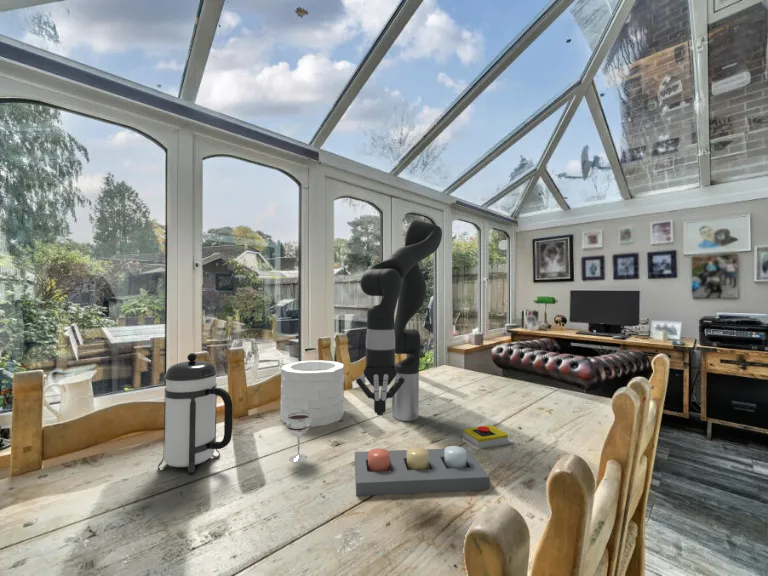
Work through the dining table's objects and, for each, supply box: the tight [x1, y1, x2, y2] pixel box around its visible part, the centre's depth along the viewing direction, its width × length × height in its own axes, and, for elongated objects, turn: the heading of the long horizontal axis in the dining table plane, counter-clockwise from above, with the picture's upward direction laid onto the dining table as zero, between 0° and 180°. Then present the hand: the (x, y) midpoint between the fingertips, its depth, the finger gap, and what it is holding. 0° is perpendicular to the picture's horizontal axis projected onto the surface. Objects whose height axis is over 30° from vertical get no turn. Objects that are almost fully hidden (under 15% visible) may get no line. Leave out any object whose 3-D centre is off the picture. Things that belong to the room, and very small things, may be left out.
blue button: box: [444, 445, 466, 469], centre depth 92 cm, size 6×6×4 cm
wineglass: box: [286, 412, 311, 463], centre depth 100 cm, size 7×7×12 cm
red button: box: [367, 448, 390, 472], centre depth 90 cm, size 6×6×4 cm
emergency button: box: [459, 424, 514, 450], centre depth 114 cm, size 9×4×15 cm
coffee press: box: [157, 353, 234, 476], centre depth 96 cm, size 17×16×30 cm
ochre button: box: [406, 446, 429, 470], centre depth 91 cm, size 6×6×4 cm
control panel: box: [354, 447, 490, 497], centre depth 91 cm, size 32×16×3 cm, turn 96°
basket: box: [280, 359, 345, 428], centre depth 134 cm, size 25×24×19 cm
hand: (379, 414), depth 90 cm, fingers closed
